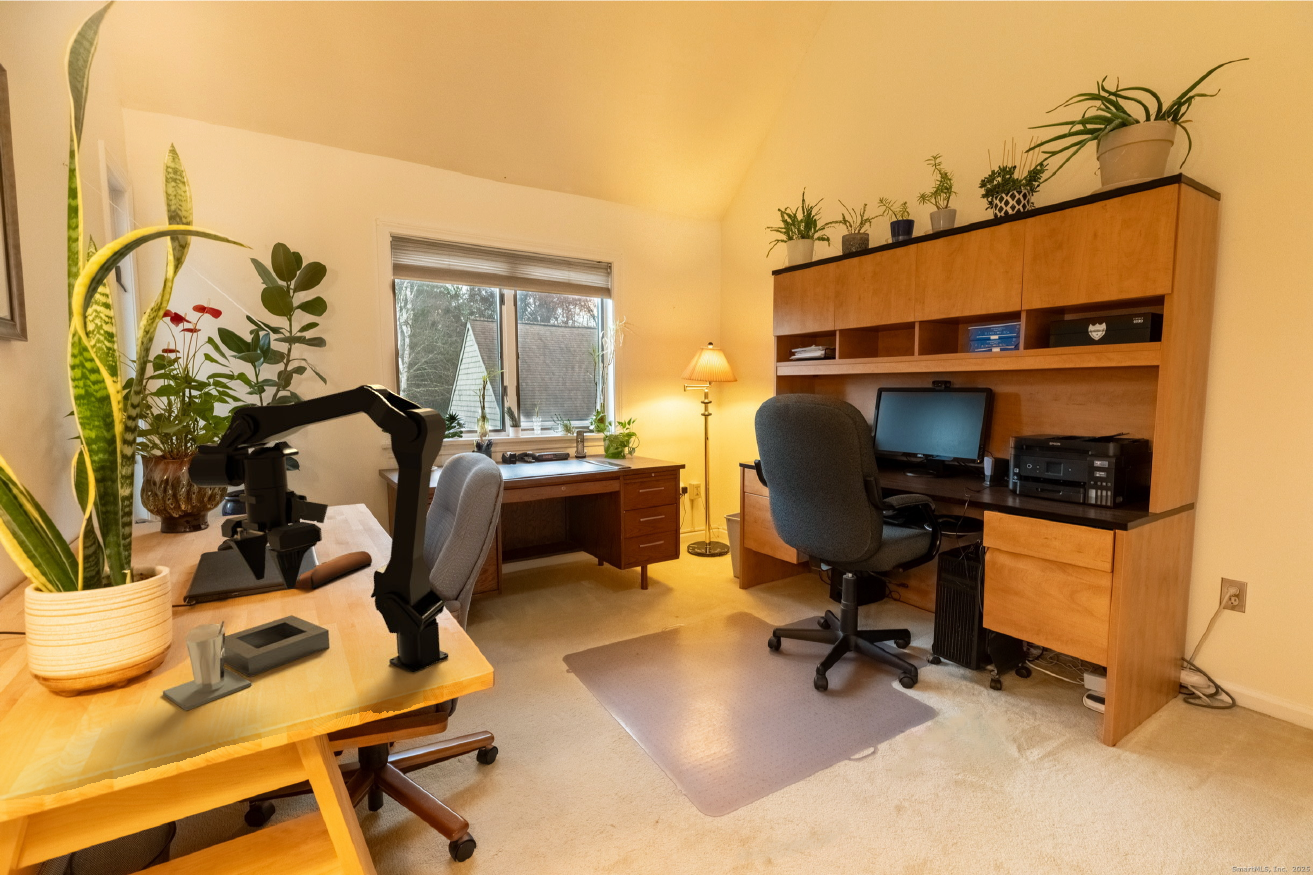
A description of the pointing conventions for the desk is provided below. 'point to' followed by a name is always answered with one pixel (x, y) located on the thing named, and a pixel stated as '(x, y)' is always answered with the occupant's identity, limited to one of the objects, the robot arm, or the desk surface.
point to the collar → (273, 644)
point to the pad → (191, 698)
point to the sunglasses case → (333, 569)
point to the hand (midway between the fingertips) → (275, 583)
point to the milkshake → (207, 656)
